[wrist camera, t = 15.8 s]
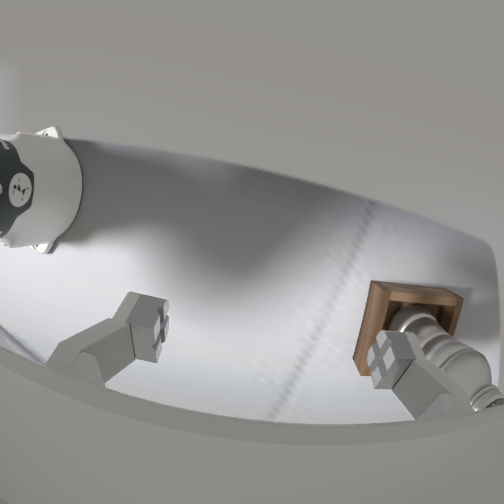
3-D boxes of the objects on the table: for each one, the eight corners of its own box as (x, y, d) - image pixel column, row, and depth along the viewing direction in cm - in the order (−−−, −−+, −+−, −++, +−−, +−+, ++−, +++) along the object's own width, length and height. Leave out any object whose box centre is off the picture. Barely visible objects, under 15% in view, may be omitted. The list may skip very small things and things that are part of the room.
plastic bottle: (426, 295, 33) (528, 365, 13) (425, 342, 34) (507, 430, 14) (380, 306, 34) (466, 397, 14) (382, 354, 35) (448, 459, 15)
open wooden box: (352, 358, 36) (360, 375, 31) (371, 280, 34) (383, 290, 30) (425, 360, 35) (439, 375, 31) (446, 289, 34) (463, 298, 29)
